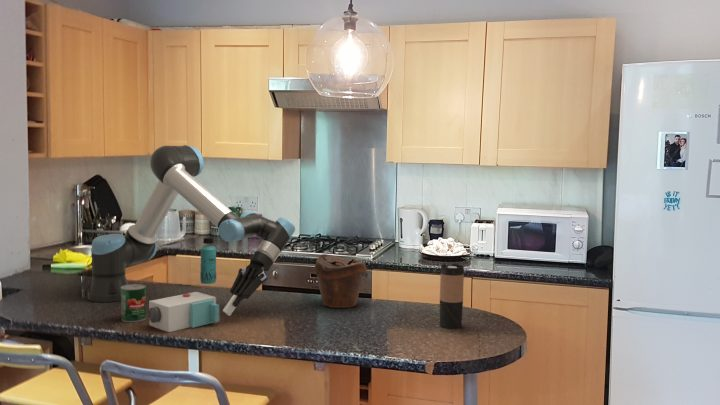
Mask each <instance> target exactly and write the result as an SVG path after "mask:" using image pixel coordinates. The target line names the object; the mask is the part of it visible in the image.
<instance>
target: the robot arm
mask: <svg viewBox="0 0 720 405" xmlns="http://www.w3.org/2000/svg"><path fill="white" fill-rule="evenodd" d="M203 157H204V156H203V154H202V153H201V151H200V150H199V148H196V147H195V146H193V145H192V146H191V145H187V144H183V145H162V146H159V147H158V148H156V149H155V150H154V151H153V152H152V154H151V156H150V160H149V161H150V162H149V166H150V169H151V171H152V173H153V175H154V177H155V178H156V179H158V182H157V183H156V185H155V186H154V189H153V191H152V192H151V194H150V197H149V198H148V199H147V202H146V204H145V206H144V208H142V211H141V212H140V215H139V216H138V219H137V220H136V222H135V224H132V225H129V227H128V228H127V229H126V232H125V234H124V235H123V234H122V233H109V234H103V235H99V236H97V237H95V238H93V240H92V242H91V249H90V252H91V268H92V269H91V272H92V278H91V282H90V284H89V288H88V291H87V300H89V301H90V302H96V303H111V302H118V301H120V302H121V287H122V286H124V285H129V283H128V280H127V277H126V267H130V266H134V265H139V264H143V263H146V262H148V261H150V260H151V259H153V258H154V257H155V255H156V254H157V250H158V246H157V244H158V242H157V240H158V237H157V233H158V231H159V229H160V227H161V226H162V223H163V221H164V220H165V219H166V216H167V215H168V213H169V211H170V209H171V208H172V205H174V202H175V200H176V198H177V196H178V195H180V196H181V197H182V198H183V199H185V201H187V202H188V203H189V204H190V205H191V206H192V207H193V208H195V209H196V210H197V211H198V212H199V213H201V215H203V216H204V217H205V218H206V219H207V220H208V221H209V222H210V223H212V225H214V226H215V227H216V228H218V234H219V236H220V238H221V240H223V241H225V242H227V243H232V242H233V243H234V242H238V241H241V240H242V241H243V240H245V239H246V240H247V239H250V238H258V239H260V240H262V241H261V243H260V244H259V245H258V247H257V248H256V251H254V253H253V254H252V255H251V257H250V258H249V261H250V263H249V264H248V265H247V266H246V268H244V269H243V268H239V269H238V272H237V273H238V274H237V275H236V278H235V280H234V281H233V284H232V286H231V288H230V290H229V292H230V293H231V294H232V295H231V296H230V298H229V300H228V301H227V303H226V305H225V306H224V307H223V309H222V312H223V313H224V314H225V315H226V316H229V317H231V315H232V314H233V312H234V311H235V310H236V308H237V307H238V306H239V305H240V303H241V302H242V300H244V299H245V300H248V299H249V298H250V297H251V296H252V295H253V294H254V293H255V291H257V289H258V288H259V287H260V286H261V285H262V284H263V283H264V282H266V281H267V280H268V277H267V275H266V272H267V273H268V272H269V271H270V269H271V268H272V266H273V265H274V263H275V262H276V260H277V258H278V257H279V256H280V254H281V253H282V251H283V250H284V248H285V247H286V246H287V244H288V242H289V241H290V240H291V239H292V237H293V234H294V233H295V232H296V227H295V225H294V223H293V222H292V221H291V220H290V219H288V218H286V217H281V216H280V217H279V218H277V219H276V220H271V219H269V218H267V217H264V216H262V215H259V214H257V213H255V212H252V211H249V210H248V211H247V210H246V211H245V212H243V213H242V214H241V215H240V216H239V215H237V214H236V213H235V212H233V211H232V210H231V209H230V208H229V207H228V206H227V205H225V204H224V203H223V202H222V200H220V199H218V198H217V196H215V195H214V194H213V193H212V192H210V190H208V189H207V188H206V187H205V186H204V185H202V184H201V183H200V182H199V181H198V180H197V179H196V178H195V177H197V176H198V175H200V174H201V173H202V171H203V169H204V166H205V165H204V164H205V163H204V158H203Z"/></svg>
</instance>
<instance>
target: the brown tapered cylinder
mask: <svg viewBox="0 0 720 405" xmlns="http://www.w3.org/2000/svg"><path fill="white" fill-rule="evenodd" d="M313 272H314V274H315V275H316V278H317V282H318V287H319V291H320V296H321V302H322V305H323V306H325V307H329V308H336V309H339V308H340V309H343V308H345V309H346V308H347V309H348V308H353V307H355V306H357V304H358V299H359V294H360V290H361V286H362V281H363V277H364V278H366V279H367V278H368V276H369V275H368V269H367V266H366V264H365V263H364V262H363V261H358V262H357V260H356V259H354V258H352V259H351V260H349V259H346V258H342V257H338V256H336V255H332V254H327V253H326V254H325V253H324V254H320V255H319V256H318V257H317V258H316V261H315V265H314V268H313Z"/></svg>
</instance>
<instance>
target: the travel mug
mask: <svg viewBox="0 0 720 405" xmlns="http://www.w3.org/2000/svg"><path fill="white" fill-rule="evenodd" d="M464 270H465V267H464V265H461V264H459V263H458V264H456V263H452V264H450V265H447V264H441V265H440V278H439V279H440V283H439V326H440V327H441V328H445V329H459V328H461V327H462V323H463V309H464V308H463V307H464V281H465V280H464V279H465V278H464V276H465V275H464V274H465V272H464Z"/></svg>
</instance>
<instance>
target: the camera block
mask: <svg viewBox="0 0 720 405" xmlns="http://www.w3.org/2000/svg"><path fill="white" fill-rule="evenodd" d="M210 299H211V300H214V303H215V304H217V296H214V295H210V294H206V293H202V292H199V291H193V292H188V293H183V294H178V295H173V296H167V297H163V298H162V297H161V298H158V299H152V300H149V301H148V306H149V308H148V313H147V314H148V319H149V326H150V327H152V328H156V329H157V330H161V331H164V332H167V333H172V332H176V331H180V330H184V329H187V328H191V327H190V304H191V303H196V302H201V301H205V300H210Z"/></svg>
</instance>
